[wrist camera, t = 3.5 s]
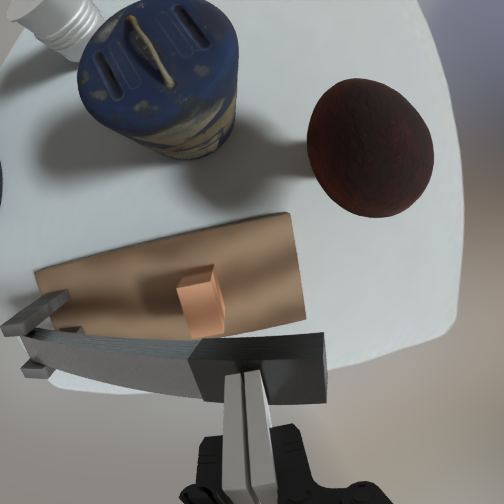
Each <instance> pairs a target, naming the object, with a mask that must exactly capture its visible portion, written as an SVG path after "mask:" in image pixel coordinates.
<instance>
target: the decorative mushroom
mask: <svg viewBox="0 0 504 504" xmlns="http://www.w3.org/2000/svg"><path fill="white" fill-rule="evenodd" d="M307 152H308V156H309V160H310V164H311V167H312V170H313V172H314V174H315V177H316V179H317V181H318V182H319V184H320V185H321V187H322V188H323V190H324V191H325V192H326V194H327V195H328V196H329V197H330V198H331V199H332V200H333V201H334V202H335V203H337V204H338V205H339V206H341V207H342V208H343V209H345V210H347V211H349V212H351V213H353V214H356V215H358V216H364V217H369V218H383V217H390V216H393V215H396V214H399V213H401V212H402V211H404V210H406V209H407V208H409V207H410V206H411V205H412V204H413V203H414V202H415V201H416V200H417V199H418V198H419V197H420V196H421V195H422V193H423V192H424V190H425V189H426V187H427V185H428V183H429V181H430V178H431V175H432V171H433V165H434V150H433V143H432V139H431V135H430V132H429V129H428V127H427V125H426V124H425V122H424V120H423V119H422V117H421V116H420V114H419V113H418V112H417V111H416V109H415V108H414V107H413V106H412V105H411V104H410V103H409V102H408V101H407V100H406V99H405V98H404V97H403V96H402V95H401V94H400V93H398V92H397V91H395V90H394V89H392V88H390V87H388V86H386V85H385V84H382V83H379V82H376V81H372V80H368V79H360V78H353V79H347V80H344V81H341V82H339V83H337V84H335V85H334V86H332V87H331V88H330V89H328V90H327V91H326V92H325V93H324V94H323V95H322V97H321V98H320V99H319V101H318V102H317V104H316V106H315V108H314V110H313V113H312V116H311V119H310V123H309V127H308V132H307Z"/></svg>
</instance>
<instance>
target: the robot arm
mask: <svg viewBox="0 0 504 504" xmlns="http://www.w3.org/2000/svg"><path fill="white" fill-rule="evenodd" d="M1 198H2V168H1V163H0V204H1ZM244 377H245V388H244V384H243V381H242V378H241V374H240V373H239V374H233V375H226V376H225V390H224V421H223V435H221V436H211V437H205V438H204V439H203V441H202V443H201V444H200V446H199V457H198V465H197V475H196V484H192V485H190V486H188V487H186V488H185V489H183V491H182V492H181V493H180V496H179V499H180V500H181V501H182V502H183V503H184V504H260V503H261V504H393V503H392V502H391V501H390V500H389V498H388V497H387V496H386V495H385V494H384V493H383V491H382V490H381V489H380V488H379V487H378V486H377V485H375V484H374V483H371V482H367V481H362V482H357V483H354V484H351V485H350V486H349V487H347V488H335V489H334V488H325V487H322V486H320V485H318V484H317V483H316V482H315V481H314V480H313V478H312V475H311V471H310V468H309V464H308V460H307V456H306V452H305V449H304V445H303V441H302V437H301V434H300V430H299V429H298V428H297V427H296V426H295V425H294V424H287V425H282V426H277V427H272V425H271V419H270V412H269V406H268V402H267V398H266V394H265V390H264V386H263V382H262V378H261V374H260V370H255V371H250V372H244ZM259 501H260V502H259Z"/></svg>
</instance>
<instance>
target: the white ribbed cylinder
mask: <svg viewBox="0 0 504 504" xmlns="http://www.w3.org/2000/svg"><path fill="white" fill-rule="evenodd" d="M7 19H8V20H10V21H11V22H18V23H19V24H21V25H22V26H24V27H25V28H27V29H28V30H30V31H31V32H33V33H34V35H35V37H36V39H38V40H39V41H41V42H42V43H44V44H45V45H47V46H48V47H50V48H51V49H52V50H54V51H56V52H60V53H61V54H62V55H63V56H64V57H65V58H66V59H68V60H69V61H72V62H78V63H79V62H80V59H81V56H82V53H83V51H84V49H85V47H86V45H87V43H88V42H89V40H90V39H91V37H92V36H93V34H94V33H95V32H96V31H97V30H98V28H99V27H100V26H101V25H102V24H103V23H104V22H105V21H106V19H105V18H104V17H103V16H102V15H101V14H100V10H99V9H98V8H97V6H96V5H95V4H94V3H93V2H92V0H12V2H11V4H10V6H9V8H8V11H7Z"/></svg>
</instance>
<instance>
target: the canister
mask: <svg viewBox="0 0 504 504" xmlns="http://www.w3.org/2000/svg"><path fill="white" fill-rule="evenodd" d="M238 59H239V46H238V39H237V35H236V32H235V29H234V27H233V25H232V23H231V22H230V20H229V19H228V18H227V16H226V15H225V14H224V13H223V12H222V11H221V10H219V9H218V8H217V7H215V6H214V5H212V4H211V3H209V2H207V1H205V0H141V1H138V2H136V3H133V4H131V5H129V6H127V7H125V8H123V9H122V10H120V11H118V12H117V13H115V14H114V15H113V16H111V17H110V18H109V19H108V20H106V21H105V22H104V23H103V24H102V25H101V26H100V27H99V28H98V30H97V31H96V32H95V33H94V34H93V36H92V37H91V39H90V40H89V42H88V43H87V45H86V47H85V49H84V51H83V53H82V56H81V59H80V62H79V66H78V72H77V83H78V90H79V94H80V97H81V100H82V102H83V104H84V106H85V108H86V109H87V111H88V112H89V113H90V114H91V115H92V116H93V117H94V118H95V119H96V120H97V121H98V122H100V123H101V124H103V125H104V126H106V127H108V128H110V129H112V130H113V131H116V132H118V133H120V134H122V135H124V136H126V137H128V138H130V139H132V140H134V141H136V142H137V143H139V144H141V145H143V146H145V147H148V148H150V149H152V150H155V151H157V152H159V153H161V154H163V155H165V156H168V157H170V158H173V159H179V160H193V159H198V158H202V157H204V156H207V155H209V154H211V153H212V152H214V151H215V150H217V149H218V148H219V147H220V146H221V145H222V144H223V143H224V142H225V141H226V139H227V138H228V136H229V135H230V133H231V131H232V128H233V125H234V121H235V110H236V98H237V75H238Z"/></svg>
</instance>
